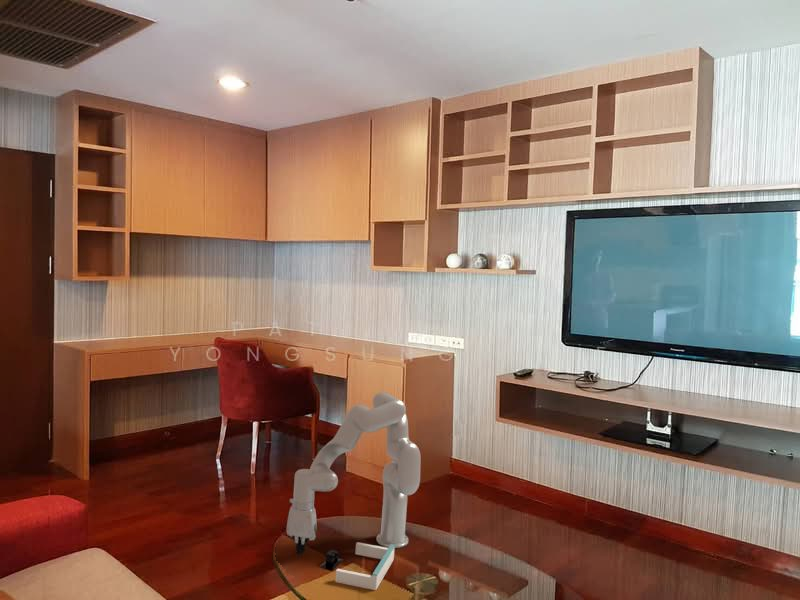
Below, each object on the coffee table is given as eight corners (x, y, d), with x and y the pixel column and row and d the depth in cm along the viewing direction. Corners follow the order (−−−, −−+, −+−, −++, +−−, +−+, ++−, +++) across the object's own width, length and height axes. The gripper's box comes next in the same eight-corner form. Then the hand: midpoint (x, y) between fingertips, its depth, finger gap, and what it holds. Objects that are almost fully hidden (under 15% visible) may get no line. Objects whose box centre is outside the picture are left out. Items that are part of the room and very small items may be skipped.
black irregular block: (332, 575, 217) (333, 562, 217) (313, 570, 220) (314, 557, 219) (347, 559, 229) (348, 547, 228) (330, 555, 231) (330, 543, 231)
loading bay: (356, 552, 234) (357, 538, 233) (393, 559, 230) (394, 545, 230) (335, 581, 212) (336, 566, 211) (376, 590, 208) (377, 574, 208)
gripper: (280, 504, 224) (277, 553, 225) (318, 511, 220) (315, 561, 222) (288, 497, 231) (285, 545, 232) (326, 503, 228) (323, 552, 229)
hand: (300, 552), depth 227 cm, fingers closed
